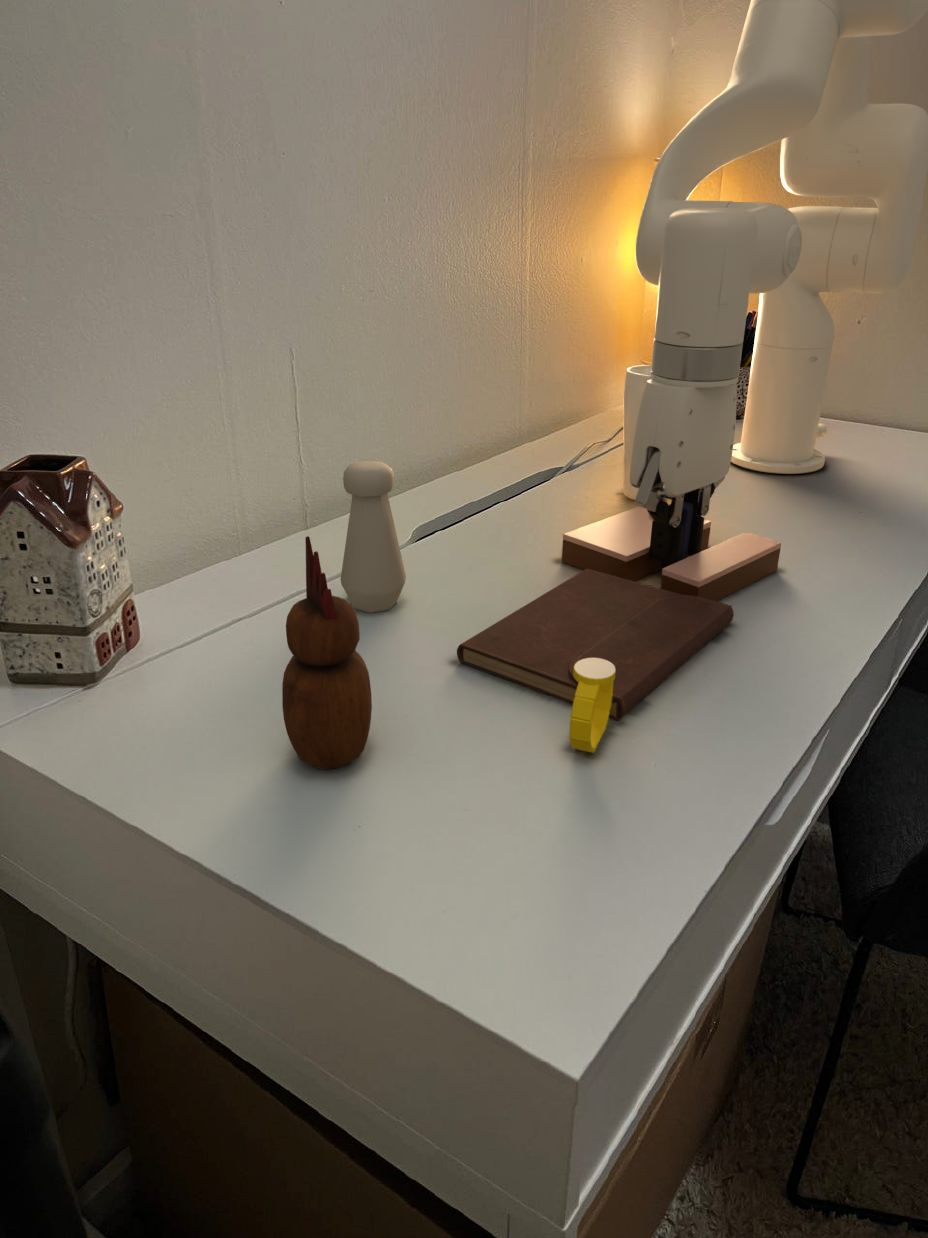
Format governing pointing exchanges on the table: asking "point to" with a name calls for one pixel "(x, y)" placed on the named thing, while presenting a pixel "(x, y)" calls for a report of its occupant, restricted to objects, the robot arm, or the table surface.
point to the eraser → (686, 522)
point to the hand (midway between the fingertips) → (674, 555)
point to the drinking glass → (632, 418)
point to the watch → (591, 702)
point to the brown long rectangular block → (723, 567)
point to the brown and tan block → (617, 545)
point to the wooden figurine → (325, 676)
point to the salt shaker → (371, 540)
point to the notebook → (598, 637)
